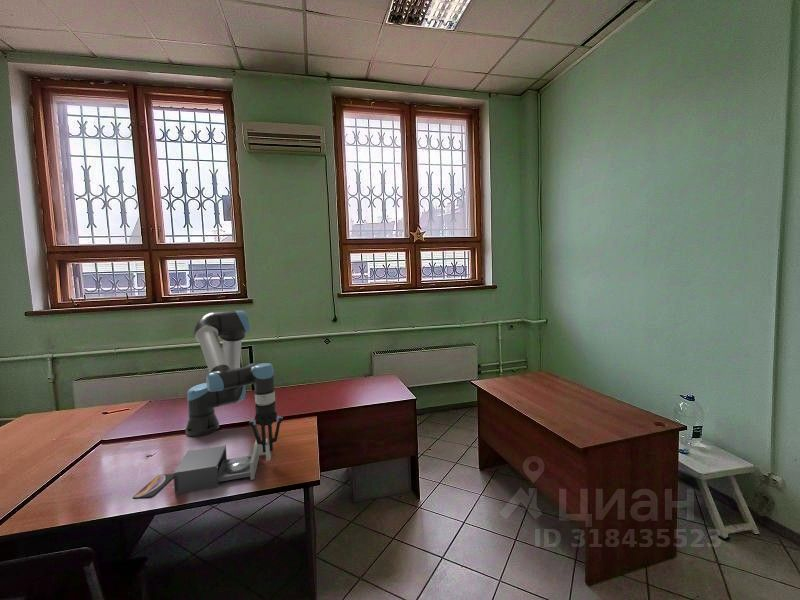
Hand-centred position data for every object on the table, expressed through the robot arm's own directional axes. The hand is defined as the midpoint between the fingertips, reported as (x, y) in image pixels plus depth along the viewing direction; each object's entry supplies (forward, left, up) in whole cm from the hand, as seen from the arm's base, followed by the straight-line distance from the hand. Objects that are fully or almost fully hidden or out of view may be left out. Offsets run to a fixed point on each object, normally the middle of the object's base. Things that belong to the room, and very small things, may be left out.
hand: (268, 459), depth 142 cm
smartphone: (0, -40, -4) cm, 40 cm away
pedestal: (-14, -4, -3) cm, 15 cm away
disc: (0, -11, -1) cm, 11 cm away
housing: (0, -24, -3) cm, 24 cm away
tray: (0, -11, -3) cm, 12 cm away
